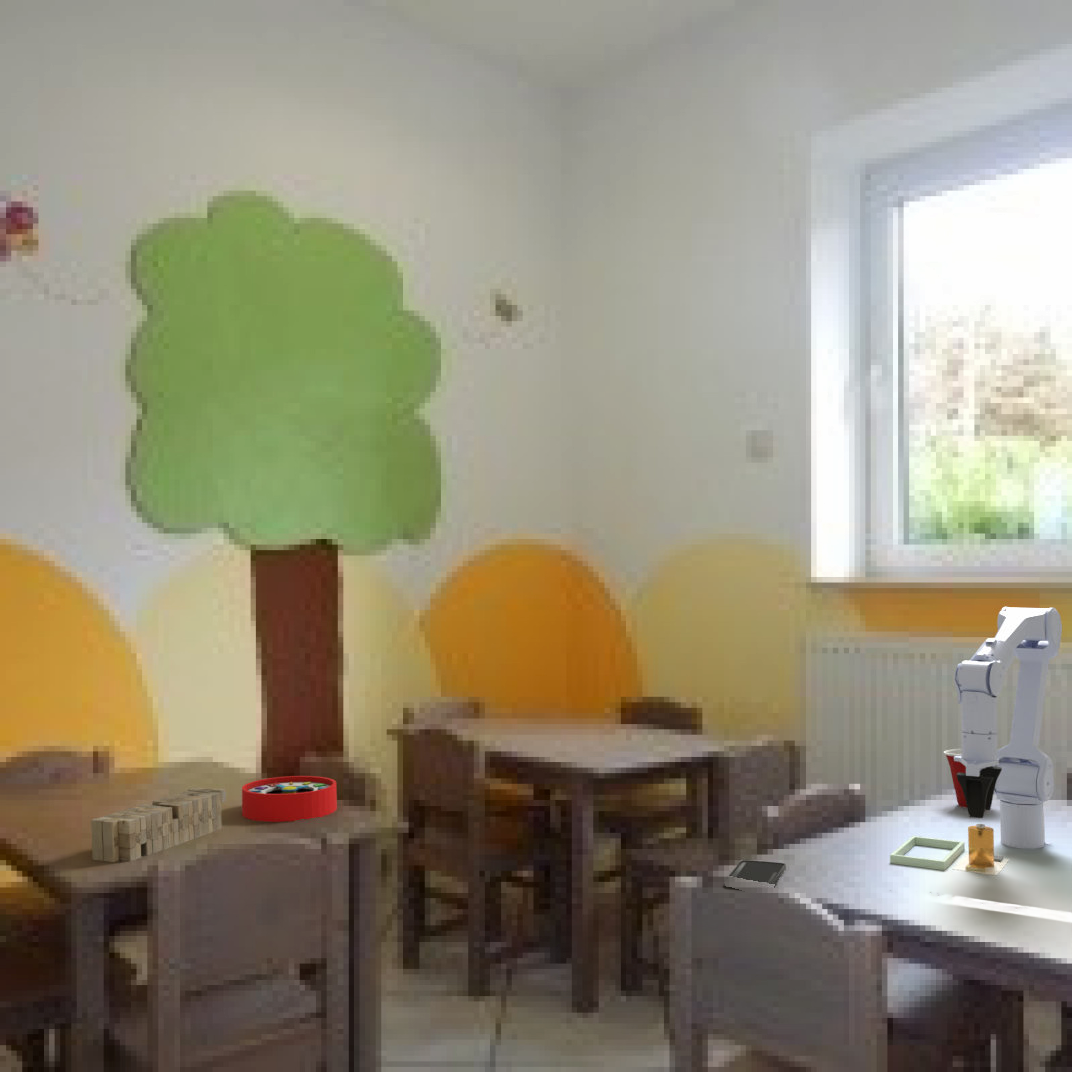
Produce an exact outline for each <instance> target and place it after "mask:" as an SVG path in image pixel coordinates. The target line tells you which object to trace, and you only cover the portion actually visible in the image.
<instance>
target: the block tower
mask: <svg viewBox="0 0 1072 1072" xmlns="http://www.w3.org/2000/svg"><path fill="white" fill-rule="evenodd" d="M226 794H227V793H226V788H212V787H194V788H193V787H192V788H190V789H189V788H188V790H185V791H183V792H180V793H177V794H172V795H170V796H165V797H162V798H160V799H155V800H153V801H152V805H151V804H140V805H137V806H134V807H130V808H128V809H124V810H119V811H116V812H113V813H110V814H107V815H103V816H101V817H96V818H93V819H91V820H90V823H91V824H90V825H91V827H90V828H91V829H90V830H91V846H92V848H91V850H92V861H93V860H94V861H100V862H102V861H104V862H110V863H114V862H119V861H125V862H133V861H135V860H137V859H141V858H142V856H149V855H152V854H155V853H158V852H160V851H163V850H167V849H169V848H172V847H175V846H179V845H181V844H184V843H187V842H188V841H191V840H194V839H198V838H199V837H202V836H205V835H209V834H211V833H214V832H216V831H219V830H221V829H222V803H224V802H226V801H227V799H226V798H227V797H226V796H227V795H226Z"/></svg>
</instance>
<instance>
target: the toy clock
mask: <svg viewBox="0 0 1072 1072" xmlns="http://www.w3.org/2000/svg"><path fill="white" fill-rule="evenodd" d="M337 792H338V791H337V781H336V780H335V779H333V778H329V777H325V776H314V775H313V776H312V775H290V776H277V777H269V778H264V779H259V780H254V781H251V782H248V783H245V784H243V786H242V787H241V801H242V802H241V812H242V813H241V815H242V817H243V818H246V819H248V820H250V821H251V820H252V821H258V822H266V823H267V822H268V823H269V822H272V823H273V822H275V823H282V822H285V821H287V822H296V821H295V820H300V819H308V820H311V819H310V818H314V817H315V818H314V819H317V818H316V817H319V818H322V817H325V815H326V816H329V815H331V814H333V813H335V812H336V811H337V808H338V803H337V802H338V801H337V800H338V799H337V797H338V796H337ZM334 811H335V812H334ZM330 813H331V814H330ZM300 821H301V820H300Z"/></svg>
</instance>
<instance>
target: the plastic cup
mask: <svg viewBox="0 0 1072 1072" xmlns="http://www.w3.org/2000/svg"><path fill="white" fill-rule="evenodd" d="M943 754H944V755H945V756H946V757H945V758H946V759H947V761H948V765H949V768H950V769H949V770H950V773H951V778H952V783H953V788H954V791H955V796H956V803H957V805H958V807H960V808H963V807H965V808H964V809H967V805H966V800H965V796H964V793H963V790H962V787H961V785H960V783H959V781H958V780H957V773H966V766H965V765H963V764H962V763H961V762H959V761H954V757H955V756H961V748H952V749H947V750H944V751H943Z"/></svg>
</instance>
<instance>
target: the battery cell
mask: <svg viewBox="0 0 1072 1072" xmlns="http://www.w3.org/2000/svg"><path fill="white" fill-rule="evenodd" d="M994 831H995V830H994V828H993V827H991V826H986V824H983V823H976V825H970V826H968V827H967V833H968V834H967V835H968V837H967V839H968V841H967V842H968V843H967V844H968V854H969V864H970V865H977V866H985V867H993V866H994V855H995V841H994V840H995V835H994V833H995V832H994Z"/></svg>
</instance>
